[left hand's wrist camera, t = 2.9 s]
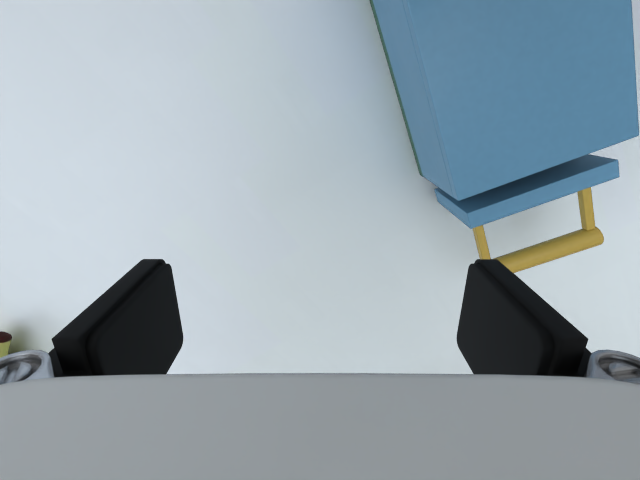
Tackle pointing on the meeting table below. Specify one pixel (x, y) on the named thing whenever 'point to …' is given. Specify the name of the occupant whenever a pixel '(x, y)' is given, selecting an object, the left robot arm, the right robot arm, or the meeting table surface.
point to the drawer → (533, 193)
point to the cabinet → (508, 84)
